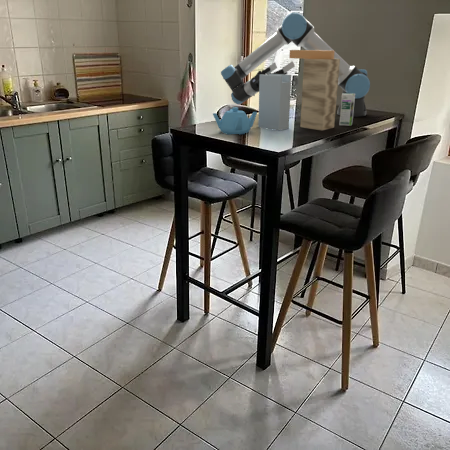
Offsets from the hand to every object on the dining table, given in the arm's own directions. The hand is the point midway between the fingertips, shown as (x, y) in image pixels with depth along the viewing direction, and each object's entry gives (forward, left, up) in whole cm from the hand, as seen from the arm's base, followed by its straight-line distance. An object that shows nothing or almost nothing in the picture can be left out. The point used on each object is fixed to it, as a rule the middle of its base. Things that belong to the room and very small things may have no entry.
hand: (284, 64), depth 218 cm
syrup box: (-26, +16, -27) cm, 41 cm away
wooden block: (-10, +18, -27) cm, 34 cm away
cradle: (+10, +13, -27) cm, 31 cm away
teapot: (+30, +18, -27) cm, 44 cm away
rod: (-7, +13, +3) cm, 15 cm away
